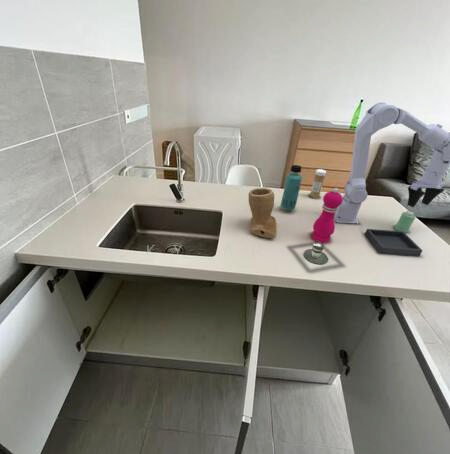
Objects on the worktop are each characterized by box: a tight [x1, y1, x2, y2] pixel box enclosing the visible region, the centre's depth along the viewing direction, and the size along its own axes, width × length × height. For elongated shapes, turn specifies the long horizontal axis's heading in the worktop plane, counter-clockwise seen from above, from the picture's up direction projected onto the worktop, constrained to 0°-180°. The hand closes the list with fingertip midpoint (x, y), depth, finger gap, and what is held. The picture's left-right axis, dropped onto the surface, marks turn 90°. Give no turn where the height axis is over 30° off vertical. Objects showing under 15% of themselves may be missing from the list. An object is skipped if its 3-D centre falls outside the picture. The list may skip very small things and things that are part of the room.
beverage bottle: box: [280, 164, 303, 211], centre depth 101 cm, size 6×7×20 cm
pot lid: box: [303, 241, 329, 265], centre depth 79 cm, size 12×12×5 cm
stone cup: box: [248, 187, 278, 239], centre depth 89 cm, size 15×12×15 cm
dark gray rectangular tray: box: [364, 228, 423, 257], centre depth 87 cm, size 14×12×2 cm
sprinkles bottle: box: [309, 168, 327, 199], centre depth 116 cm, size 5×5×14 cm
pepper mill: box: [311, 187, 343, 244], centre depth 84 cm, size 7×7×20 cm
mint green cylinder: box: [394, 210, 416, 234], centre depth 95 cm, size 4×4×8 cm
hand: (417, 204), depth 94 cm, fingers open, 7 cm apart
